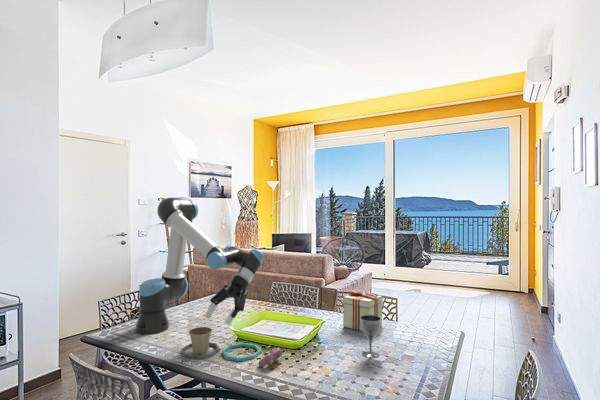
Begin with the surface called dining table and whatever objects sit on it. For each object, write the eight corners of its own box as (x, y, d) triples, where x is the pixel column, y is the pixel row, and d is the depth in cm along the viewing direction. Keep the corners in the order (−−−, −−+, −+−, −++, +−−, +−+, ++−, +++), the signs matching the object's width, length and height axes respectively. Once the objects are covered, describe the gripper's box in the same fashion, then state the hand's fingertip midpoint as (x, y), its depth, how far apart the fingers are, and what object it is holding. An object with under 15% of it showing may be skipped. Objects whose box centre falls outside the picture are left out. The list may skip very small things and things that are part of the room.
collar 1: (179, 348, 158) (179, 345, 158) (214, 342, 164) (214, 339, 164) (184, 361, 144) (184, 358, 144) (222, 354, 151) (222, 351, 151)
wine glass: (368, 360, 146) (368, 322, 146) (356, 352, 153) (356, 316, 153) (384, 356, 150) (384, 319, 150) (372, 349, 157) (372, 313, 157)
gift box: (385, 323, 190) (385, 289, 190) (371, 334, 175) (371, 297, 175) (354, 317, 199) (354, 285, 199) (339, 327, 184) (339, 292, 184)
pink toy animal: (265, 373, 138) (272, 358, 137) (256, 365, 140) (263, 350, 139) (280, 363, 147) (286, 349, 145) (271, 355, 149) (278, 341, 147)
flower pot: (205, 357, 149) (205, 335, 149) (184, 355, 151) (184, 333, 151) (215, 348, 158) (215, 327, 158) (195, 346, 160) (195, 326, 160)
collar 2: (219, 349, 156) (219, 346, 156) (253, 343, 162) (253, 341, 162) (228, 363, 143) (228, 360, 143) (264, 356, 149) (264, 353, 149)
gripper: (265, 288, 165) (240, 331, 153) (228, 280, 181) (203, 319, 169) (257, 278, 161) (230, 321, 149) (220, 271, 177) (193, 310, 165)
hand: (216, 320), depth 159 cm, fingers open, 13 cm apart
